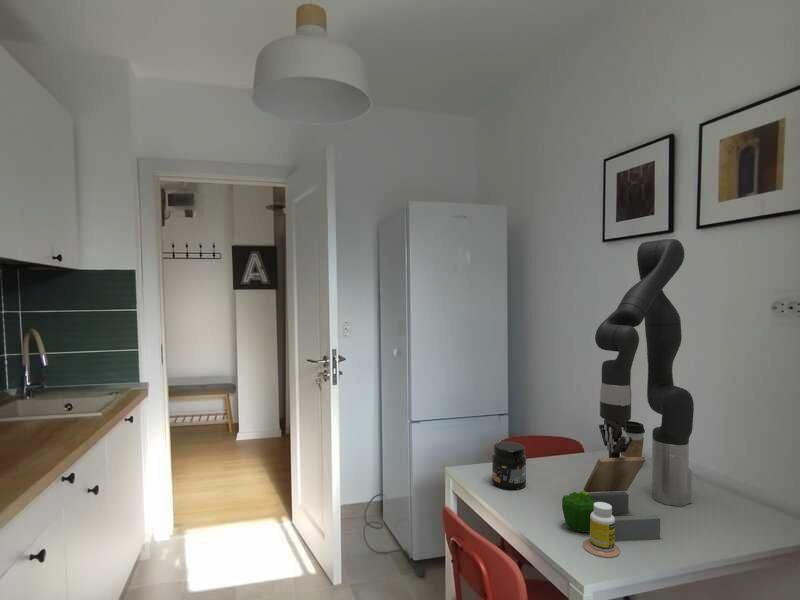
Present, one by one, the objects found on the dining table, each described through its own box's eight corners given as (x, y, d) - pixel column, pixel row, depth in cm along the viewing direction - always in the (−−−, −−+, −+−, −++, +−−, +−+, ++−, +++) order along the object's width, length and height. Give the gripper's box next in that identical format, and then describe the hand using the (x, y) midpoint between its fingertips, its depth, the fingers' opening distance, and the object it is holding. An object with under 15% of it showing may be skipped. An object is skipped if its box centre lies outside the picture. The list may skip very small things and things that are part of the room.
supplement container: (488, 477, 157) (488, 441, 157) (520, 477, 158) (521, 440, 157) (496, 491, 147) (496, 451, 147) (530, 490, 147) (530, 451, 147)
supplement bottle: (612, 555, 111) (613, 512, 110) (587, 548, 113) (587, 506, 113) (616, 544, 115) (616, 503, 115) (592, 538, 118) (592, 498, 118)
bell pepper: (557, 520, 128) (557, 483, 128) (587, 519, 128) (588, 482, 128) (570, 536, 120) (570, 496, 119) (602, 535, 120) (603, 495, 120)
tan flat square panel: (626, 490, 133) (625, 487, 134) (645, 460, 125) (643, 456, 125) (584, 492, 132) (583, 489, 133) (600, 461, 124) (598, 458, 124)
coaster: (608, 539, 118) (608, 537, 118) (626, 557, 111) (626, 555, 111) (577, 540, 118) (577, 538, 118) (592, 558, 110) (593, 556, 110)
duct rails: (624, 509, 134) (624, 491, 134) (660, 538, 119) (660, 518, 118) (582, 511, 133) (582, 493, 133) (612, 541, 118) (613, 520, 117)
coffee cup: (621, 469, 165) (622, 425, 164) (614, 460, 173) (615, 418, 173) (648, 470, 163) (648, 426, 163) (640, 462, 172) (640, 419, 171)
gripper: (589, 395, 134) (588, 457, 134) (614, 406, 121) (613, 475, 121) (616, 394, 135) (614, 456, 135) (643, 406, 121) (642, 475, 122)
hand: (614, 465), depth 128 cm, fingers closed
